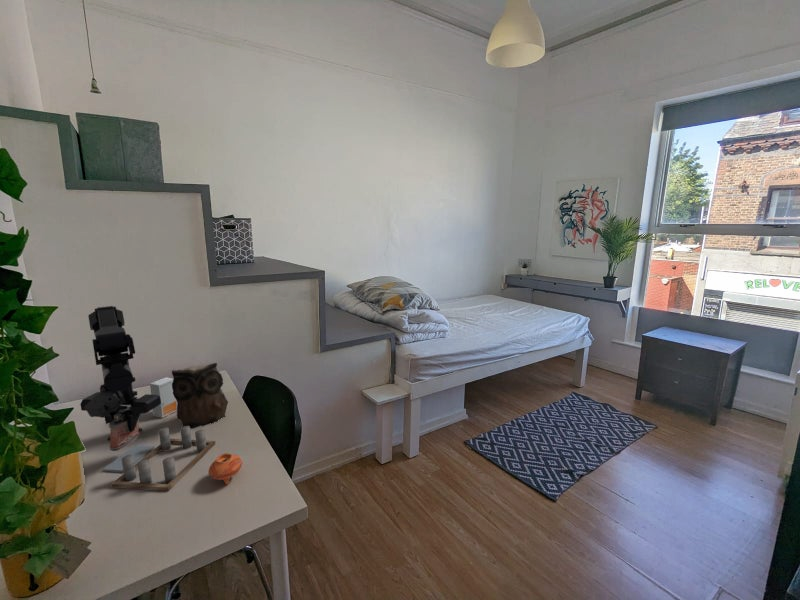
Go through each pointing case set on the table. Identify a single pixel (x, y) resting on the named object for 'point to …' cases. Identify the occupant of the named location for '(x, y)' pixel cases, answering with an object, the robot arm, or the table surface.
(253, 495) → the table surface
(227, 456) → the pot
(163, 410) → the skincare box
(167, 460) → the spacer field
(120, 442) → the lighter
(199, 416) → the owl
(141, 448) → the mat
